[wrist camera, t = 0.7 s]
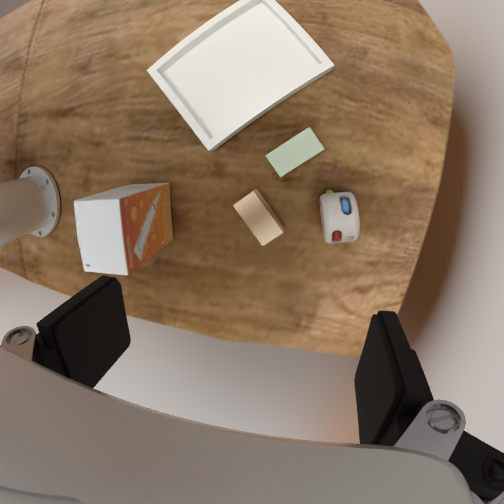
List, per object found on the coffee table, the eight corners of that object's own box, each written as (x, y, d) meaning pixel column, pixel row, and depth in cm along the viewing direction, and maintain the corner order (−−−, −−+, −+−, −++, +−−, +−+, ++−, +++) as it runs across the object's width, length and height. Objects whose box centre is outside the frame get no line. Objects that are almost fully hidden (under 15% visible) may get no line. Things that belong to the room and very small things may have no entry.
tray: (214, 150, 36) (208, 150, 34) (155, 74, 33) (146, 70, 31) (332, 70, 31) (334, 65, 28) (263, -4, 28) (261, -13, 26)
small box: (175, 239, 41) (128, 277, 29) (135, 238, 42) (82, 272, 30) (171, 181, 38) (118, 198, 26) (130, 183, 39) (71, 200, 27)
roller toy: (352, 186, 35) (362, 192, 30) (355, 235, 37) (365, 250, 32) (317, 189, 36) (321, 196, 31) (322, 238, 38) (326, 253, 33)
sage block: (281, 175, 36) (280, 177, 33) (267, 155, 36) (265, 155, 33) (322, 149, 34) (324, 149, 32) (308, 128, 34) (309, 127, 31)
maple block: (284, 226, 38) (283, 232, 36) (265, 239, 39) (262, 246, 36) (256, 187, 37) (253, 191, 34) (237, 201, 38) (232, 205, 35)
